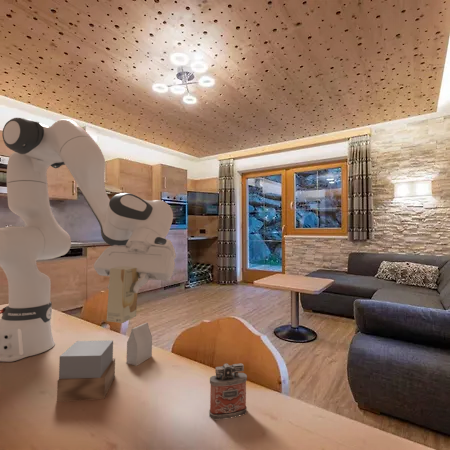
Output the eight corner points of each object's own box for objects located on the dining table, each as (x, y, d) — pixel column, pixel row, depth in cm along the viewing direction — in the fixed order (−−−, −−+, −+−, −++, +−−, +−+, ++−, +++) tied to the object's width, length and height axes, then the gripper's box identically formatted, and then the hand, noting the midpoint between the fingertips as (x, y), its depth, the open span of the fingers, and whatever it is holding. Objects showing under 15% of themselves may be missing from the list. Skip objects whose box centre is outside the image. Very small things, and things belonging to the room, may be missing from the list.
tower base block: (56, 403, 62) (57, 380, 63) (73, 380, 72) (74, 360, 72) (104, 400, 64) (104, 377, 64) (114, 377, 74) (115, 358, 74)
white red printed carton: (151, 356, 86) (152, 323, 86) (136, 365, 80) (137, 330, 80) (142, 354, 88) (142, 321, 88) (126, 363, 81) (127, 328, 82)
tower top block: (58, 378, 63) (59, 356, 63) (76, 360, 72) (77, 341, 72) (100, 377, 64) (101, 355, 64) (112, 359, 73) (113, 340, 73)
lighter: (211, 421, 57) (211, 371, 57) (207, 411, 60) (208, 363, 60) (248, 415, 59) (249, 366, 59) (243, 405, 62) (244, 359, 62)
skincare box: (122, 324, 63) (126, 269, 64) (105, 322, 64) (108, 268, 64) (137, 316, 70) (140, 266, 70) (121, 314, 70) (124, 265, 71)
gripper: (104, 236, 76) (77, 279, 66) (176, 240, 72) (158, 286, 62) (113, 252, 80) (88, 294, 71) (181, 256, 76) (165, 301, 67)
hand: (122, 290), depth 66 cm, fingers closed on skincare box, 4 cm apart
